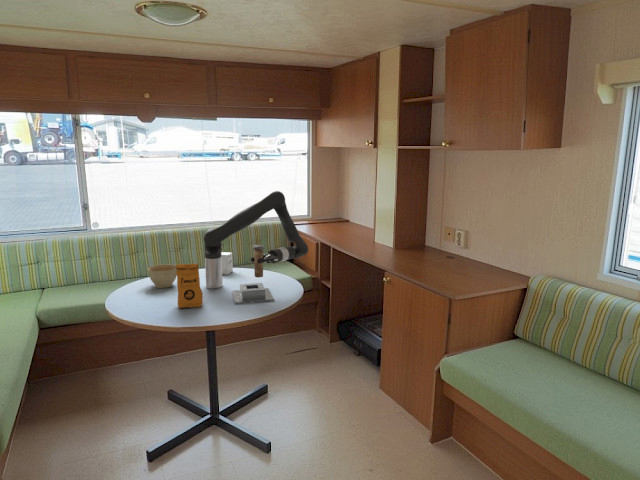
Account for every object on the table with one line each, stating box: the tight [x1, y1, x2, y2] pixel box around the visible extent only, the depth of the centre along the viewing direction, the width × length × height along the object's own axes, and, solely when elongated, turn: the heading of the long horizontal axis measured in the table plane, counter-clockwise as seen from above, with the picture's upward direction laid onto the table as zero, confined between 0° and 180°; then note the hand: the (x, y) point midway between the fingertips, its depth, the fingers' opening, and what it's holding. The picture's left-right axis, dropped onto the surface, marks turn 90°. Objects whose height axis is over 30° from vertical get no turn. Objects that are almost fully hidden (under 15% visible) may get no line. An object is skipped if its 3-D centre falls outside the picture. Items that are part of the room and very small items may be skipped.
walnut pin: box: [252, 244, 265, 278], centre depth 235 cm, size 6×6×16 cm
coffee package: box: [175, 263, 204, 309], centre depth 227 cm, size 10×12×22 cm
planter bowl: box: [147, 263, 177, 289], centre depth 261 cm, size 16×16×11 cm
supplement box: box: [221, 251, 234, 275], centre depth 289 cm, size 7×7×13 cm
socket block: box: [231, 282, 275, 305], centre depth 244 cm, size 20×20×6 cm
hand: (254, 260), depth 233 cm, fingers closed on walnut pin, 4 cm apart
